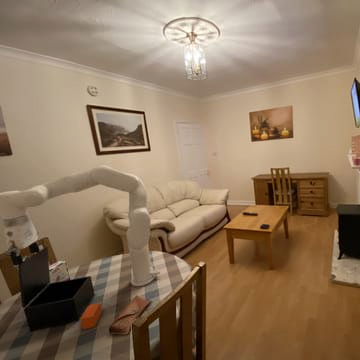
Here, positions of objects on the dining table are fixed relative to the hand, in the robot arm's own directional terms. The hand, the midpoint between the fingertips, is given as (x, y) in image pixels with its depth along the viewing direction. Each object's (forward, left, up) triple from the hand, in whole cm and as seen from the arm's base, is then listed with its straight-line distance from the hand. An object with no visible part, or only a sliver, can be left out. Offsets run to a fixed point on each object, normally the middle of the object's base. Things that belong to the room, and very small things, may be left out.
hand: (27, 258), depth 89 cm
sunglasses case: (-41, +13, -29) cm, 52 cm away
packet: (-24, +10, -29) cm, 39 cm away
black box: (-9, 0, -29) cm, 30 cm away
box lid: (-2, 0, -8) cm, 8 cm away
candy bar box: (+1, -14, -29) cm, 32 cm away
